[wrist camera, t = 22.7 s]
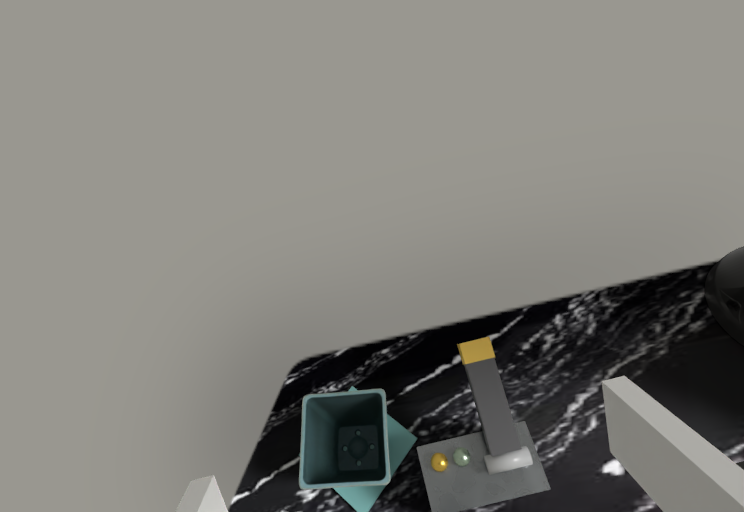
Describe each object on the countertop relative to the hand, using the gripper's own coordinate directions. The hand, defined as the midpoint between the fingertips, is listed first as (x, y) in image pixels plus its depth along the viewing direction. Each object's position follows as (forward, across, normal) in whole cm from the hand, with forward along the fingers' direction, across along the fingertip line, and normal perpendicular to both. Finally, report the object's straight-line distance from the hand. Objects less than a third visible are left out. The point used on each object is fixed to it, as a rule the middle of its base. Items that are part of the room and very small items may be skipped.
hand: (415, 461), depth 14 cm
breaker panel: (+27, +5, -26) cm, 38 cm away
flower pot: (+31, -7, -22) cm, 38 cm away
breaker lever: (+21, +8, -20) cm, 30 cm away
